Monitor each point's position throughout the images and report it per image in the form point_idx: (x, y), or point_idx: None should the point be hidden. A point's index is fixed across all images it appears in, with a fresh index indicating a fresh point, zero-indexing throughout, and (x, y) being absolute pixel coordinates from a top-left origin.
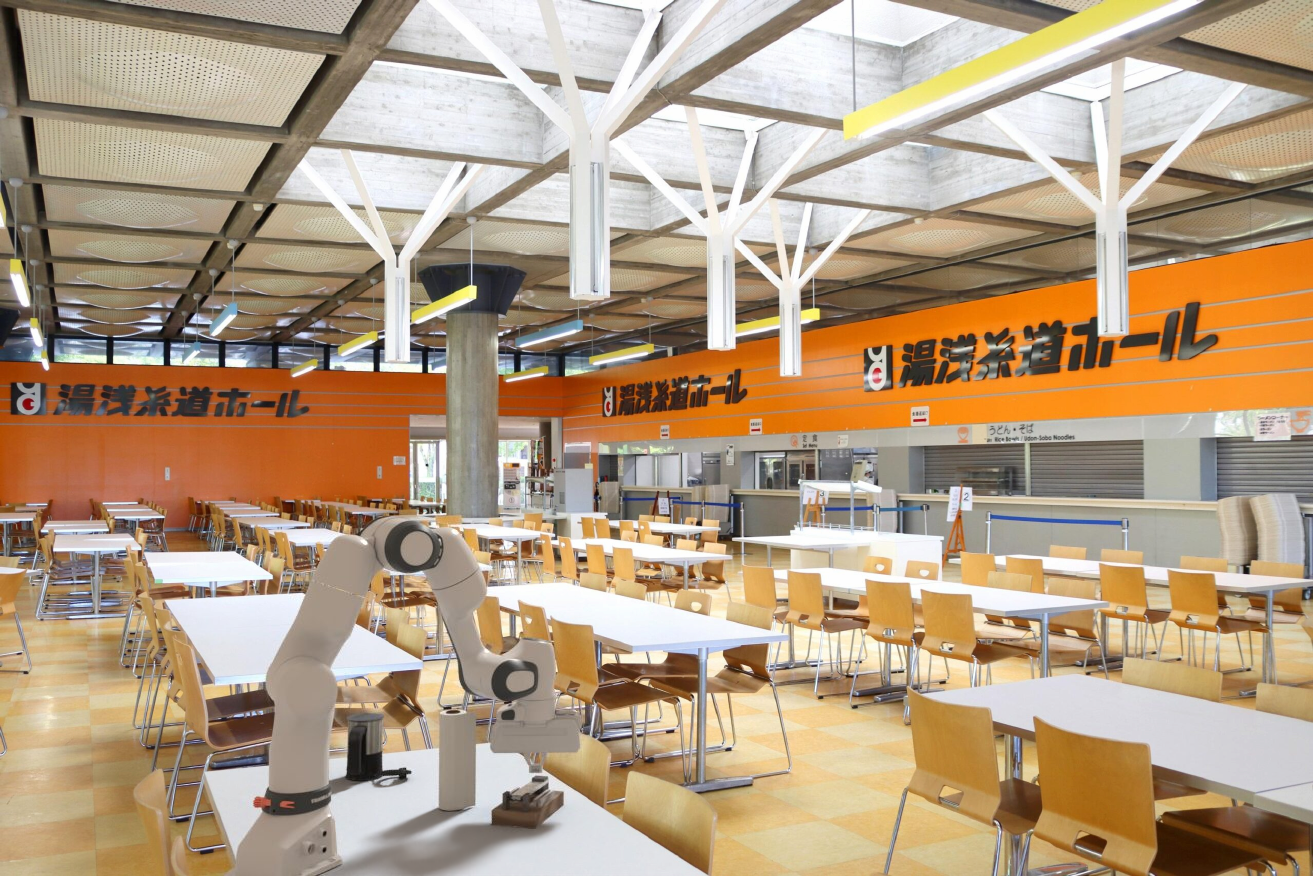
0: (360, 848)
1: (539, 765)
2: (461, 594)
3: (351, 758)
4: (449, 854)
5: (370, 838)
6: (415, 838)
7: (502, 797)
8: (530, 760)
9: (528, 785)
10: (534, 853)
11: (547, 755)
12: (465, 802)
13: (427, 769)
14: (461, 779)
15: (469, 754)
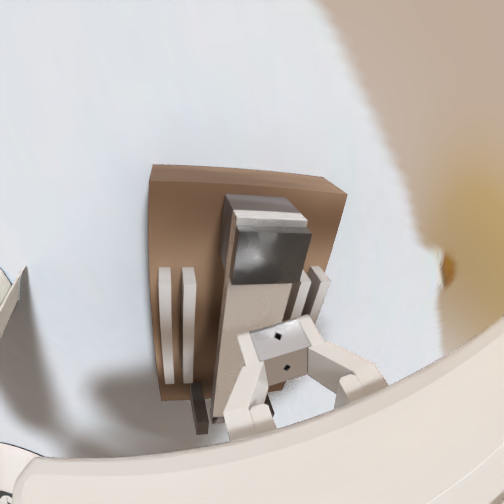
0: (45, 446)
1: (309, 374)
2: None
3: None
4: (168, 450)
5: (21, 426)
6: (74, 427)
7: (165, 383)
8: (259, 391)
9: (236, 338)
10: (290, 422)
11: (374, 365)
12: (12, 304)
13: None
14: None
15: None
